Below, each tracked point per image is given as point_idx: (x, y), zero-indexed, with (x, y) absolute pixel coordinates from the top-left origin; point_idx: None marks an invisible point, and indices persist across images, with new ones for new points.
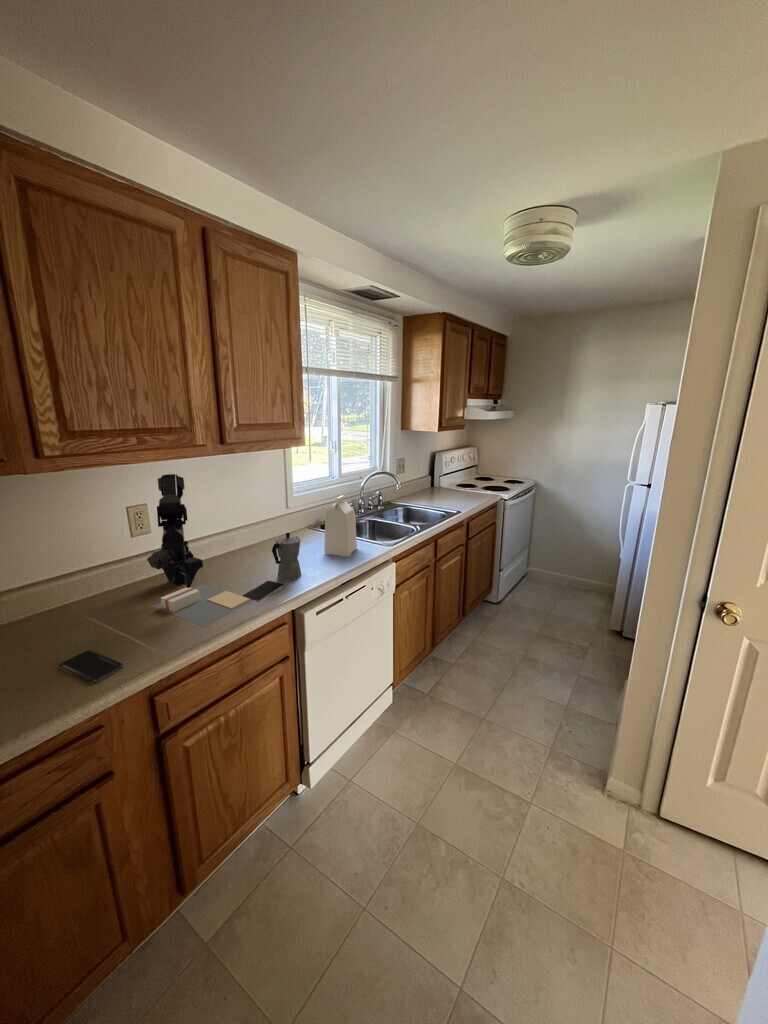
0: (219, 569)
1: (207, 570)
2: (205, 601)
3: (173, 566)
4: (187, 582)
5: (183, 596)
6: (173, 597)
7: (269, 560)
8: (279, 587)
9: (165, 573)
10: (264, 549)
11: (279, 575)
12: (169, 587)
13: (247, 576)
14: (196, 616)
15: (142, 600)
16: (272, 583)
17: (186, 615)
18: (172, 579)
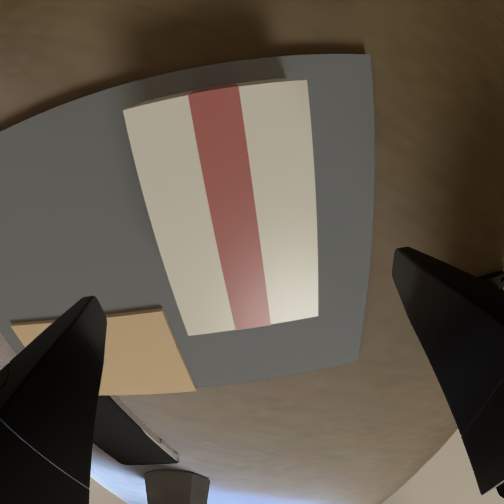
0: (408, 412)
1: (440, 389)
2: (153, 297)
3: (464, 417)
4: (37, 345)
5: (167, 224)
6: (211, 156)
7: (318, 481)
8: (107, 453)
9: (483, 289)
10: (381, 477)
11: (180, 480)
12: (477, 251)
13: (276, 448)
14: (7, 186)
15: (478, 88)
16: (146, 459)
17: (45, 148)
18: (397, 287)
